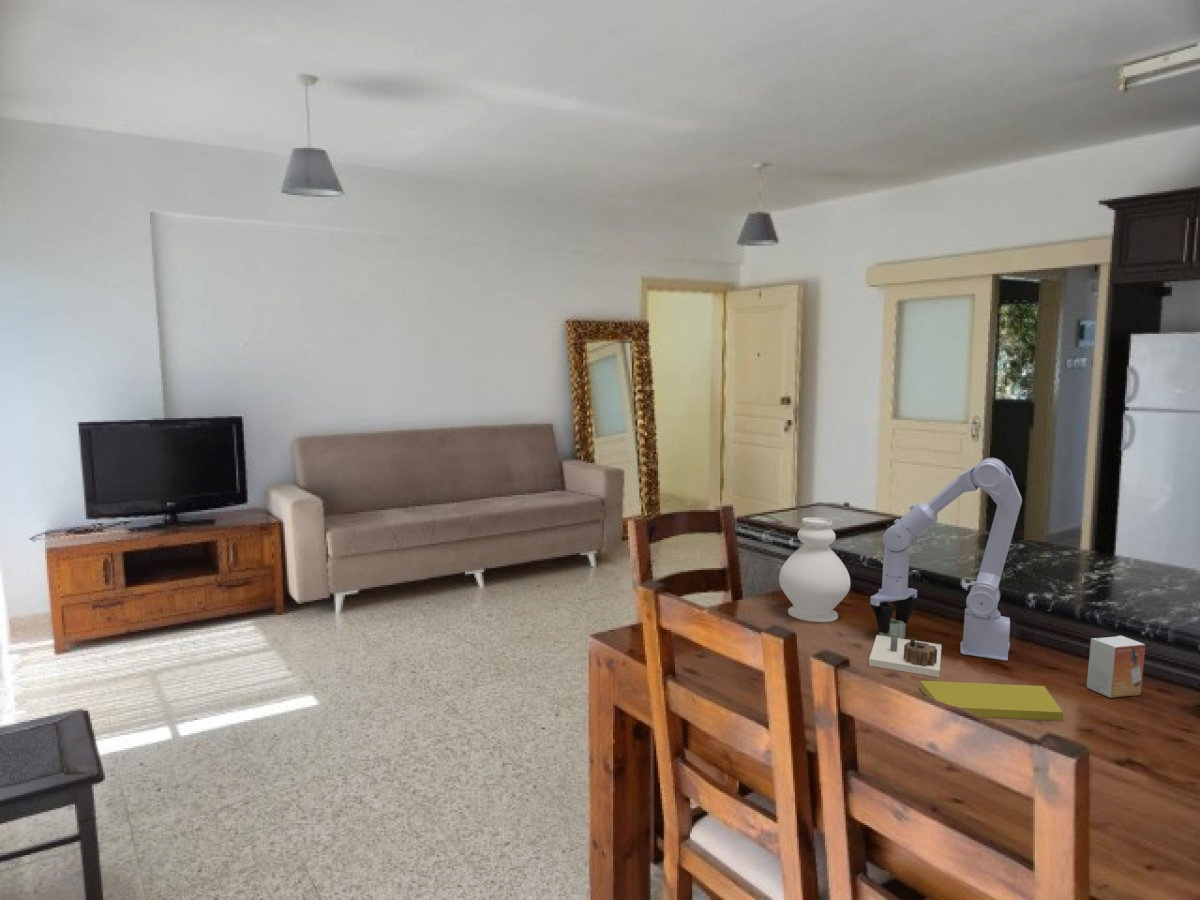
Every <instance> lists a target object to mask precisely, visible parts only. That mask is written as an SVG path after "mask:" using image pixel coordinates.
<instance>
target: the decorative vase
mask: <svg viewBox="0 0 1200 900" xmlns="http://www.w3.org/2000/svg"><path fill="white" fill-rule="evenodd" d="M801 523H802V524H804V526H802V527H801V528H800V529H799V530H798V531H797V538H798V539H799V541H800V542H801V543H802V544H803V545H802V546H800V547H799V548H798V549H796V550H795V551H794V552H793V553H792V554H791V555H790V556H789V557H788V558H787V559H786V561H785V562H784V564H783V565H782V566H781V569H780V571H779V576H778V581H779V587H780V588H781V590H782V592H783V593H784V595H785V596H786V597H787V598H788V599H787V600H789V602H790V603H791V604H792V606H790V607H789V608H788V609H787V613H788V615H789V616H791V617H792V618H795V619H797V620H801V621H803V622H804V621H806V622H813V623H828V622H833V621H834V622H835V621H836V620H837V619H838V618H839V614H838V612H837V611H835V608H836V606H838V605H839V604H840V603H841V602H842V601H843V600H844V599H845V597H846V596H847V595H848V593H849V591H850V589H851V577H850V574H849V573H850V572H848V569H847V567H846V566H845V564H844V563H843V561H842V560H841V559H840V557H839V556H838V555H837V554H836V553H835V552H834V551H833V550H832V548H830V547H829V546H830V545H831V544H833V543H834V541H836V532H834V530H832V529H833V528H831V527H829V526H831V525H833V520H832V519H830V518H825V517H817V516H815V517H813V516H811V517H810V516H809V517H808V516H807V517H803V518H802V519H801Z"/></svg>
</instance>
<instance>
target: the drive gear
mask: <svg viewBox="0 0 1200 900" xmlns="http://www.w3.org/2000/svg"><path fill="white" fill-rule="evenodd" d="M909 640H910V642H908V643H907V644H905V645H904V658H905V661H907V662H912V664H915V665H917V664H919V665H922V666H927V665H931V666H933V665H934V663H936V662H937V649H936V647H935V646H930V645H929V644H927V643H928V642H927V643H920V642H915V641H916V638H914V637H910V639H909Z"/></svg>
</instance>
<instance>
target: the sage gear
mask: <svg viewBox="0 0 1200 900" xmlns="http://www.w3.org/2000/svg"><path fill="white" fill-rule="evenodd" d="M905 627H906V628H907V626H906V624H905V623H904V622H903V621H899V620H896V618H891V619H890V625H889V631H888V633H887V634H885V633H882V632H879V631H878V635H881V636H888V637H891V635H892V634H893V633H896V634H897V635H898V638H901V639H906V628H905Z"/></svg>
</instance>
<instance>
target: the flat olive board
mask: <svg viewBox="0 0 1200 900" xmlns="http://www.w3.org/2000/svg"><path fill="white" fill-rule="evenodd" d="M919 689H920V691H921V692H922V693H923V695H924V696H925V695H926V696H928V697H931V698H933V699H935V700H937V701H940V702H943V703H945V704H948V705H951V706H956V707H959V708H962V709H965V710H967V711H969V712H972V713H974V714H976V715H979V716H981V717H980V718H993V717H999V718H998V719H1010V720H1011V719H1012V720H1013V719H1014V720H1032V721H1033V720H1034V721H1035V720H1036V721H1054V722H1057V721H1058V722H1063V718H1064V712H1063V710H1062V709H1061V708H1060V706H1059V705H1058V703H1057V702H1056V701H1055V699H1054V698H1053V696H1052V694H1050V692H1049V691H1048V689H1047V688H1046V686H1045V685H1031V684H1030V685H1029V684H1028V685H1027V684H1005V683H984V682H983V683H980V682H960V681H959V682H958V681H956V682H955V681H936V680H933V681H931V680H919ZM926 696H925V697H926ZM993 719H994V718H993Z"/></svg>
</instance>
